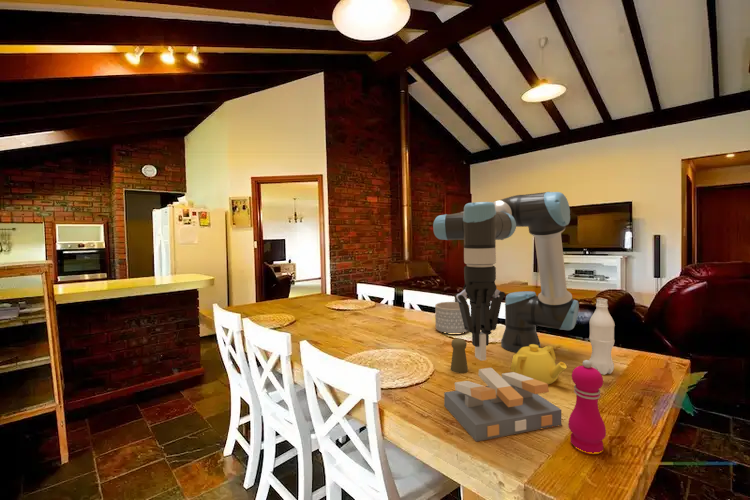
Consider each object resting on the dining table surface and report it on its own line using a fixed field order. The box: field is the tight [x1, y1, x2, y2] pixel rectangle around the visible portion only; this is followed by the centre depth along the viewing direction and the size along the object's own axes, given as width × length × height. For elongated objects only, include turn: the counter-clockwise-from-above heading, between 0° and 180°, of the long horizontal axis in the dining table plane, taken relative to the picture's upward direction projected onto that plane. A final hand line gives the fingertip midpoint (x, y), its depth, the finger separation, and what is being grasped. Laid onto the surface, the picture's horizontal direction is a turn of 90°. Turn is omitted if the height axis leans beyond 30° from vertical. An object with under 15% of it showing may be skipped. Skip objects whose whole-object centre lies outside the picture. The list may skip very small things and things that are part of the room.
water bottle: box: [588, 298, 616, 376], centre depth 116 cm, size 7×7×25 cm
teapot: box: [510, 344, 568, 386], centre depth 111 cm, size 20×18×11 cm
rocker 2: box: [477, 367, 523, 407], centre depth 91 cm, size 4×14×2 cm, turn 14°
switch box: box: [443, 383, 562, 442], centre depth 91 cm, size 24×17×6 cm
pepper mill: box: [568, 359, 607, 453], centre depth 77 cm, size 7×7×20 cm
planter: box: [434, 301, 471, 334], centre depth 168 cm, size 16×16×13 cm
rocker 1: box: [454, 380, 496, 400], centre depth 89 cm, size 4×14×2 cm, turn 14°
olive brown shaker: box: [450, 338, 469, 374], centre depth 121 cm, size 6×6×11 cm
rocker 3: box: [501, 371, 550, 395], centre depth 93 cm, size 4×14×2 cm, turn 14°
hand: (480, 358), depth 85 cm, fingers closed
